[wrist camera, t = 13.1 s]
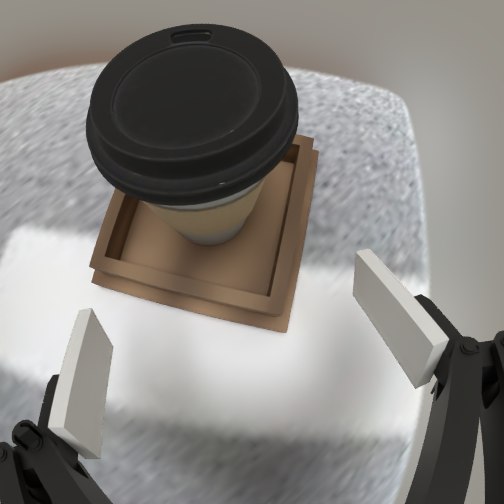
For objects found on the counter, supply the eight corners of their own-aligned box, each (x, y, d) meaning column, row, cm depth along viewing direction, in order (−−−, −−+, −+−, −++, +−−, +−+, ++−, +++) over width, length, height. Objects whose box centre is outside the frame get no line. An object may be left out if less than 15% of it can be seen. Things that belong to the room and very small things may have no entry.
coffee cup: (234, 144, 27) (236, -1, 12) (290, 234, 25) (355, 117, 10) (136, 193, 25) (58, 69, 11) (184, 292, 23) (108, 234, 9)
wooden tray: (98, 285, 25) (74, 276, 20) (154, 128, 29) (144, 100, 24) (283, 332, 25) (293, 332, 20) (315, 159, 29) (327, 132, 24)
